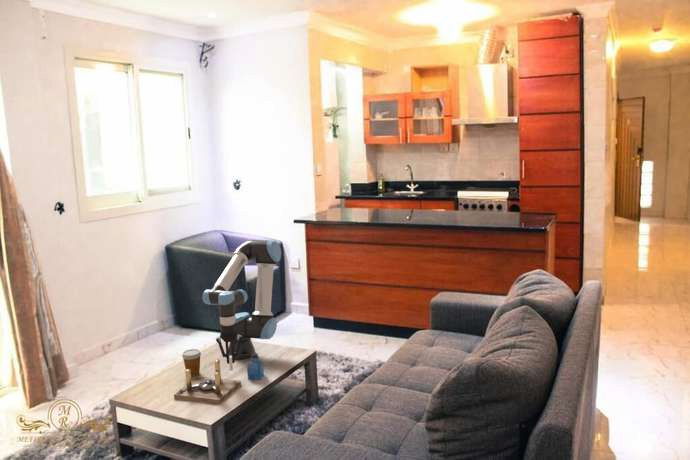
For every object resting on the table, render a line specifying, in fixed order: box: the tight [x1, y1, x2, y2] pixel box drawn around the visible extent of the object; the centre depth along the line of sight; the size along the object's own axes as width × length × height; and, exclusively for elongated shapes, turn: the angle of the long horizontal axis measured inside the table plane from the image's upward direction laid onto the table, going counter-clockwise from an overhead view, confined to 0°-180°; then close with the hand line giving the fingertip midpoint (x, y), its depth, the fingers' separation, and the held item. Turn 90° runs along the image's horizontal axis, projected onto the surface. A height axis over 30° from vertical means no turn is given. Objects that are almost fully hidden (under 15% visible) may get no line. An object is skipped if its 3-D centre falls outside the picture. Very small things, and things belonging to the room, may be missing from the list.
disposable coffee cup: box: [181, 348, 202, 378], centre depth 296 cm, size 10×10×12 cm
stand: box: [173, 375, 242, 405], centre depth 276 cm, size 21×24×4 cm
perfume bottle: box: [246, 353, 265, 381], centre depth 289 cm, size 6×6×12 cm
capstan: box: [185, 359, 222, 394], centre depth 277 cm, size 16×18×10 cm
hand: (231, 369), depth 284 cm, fingers closed
